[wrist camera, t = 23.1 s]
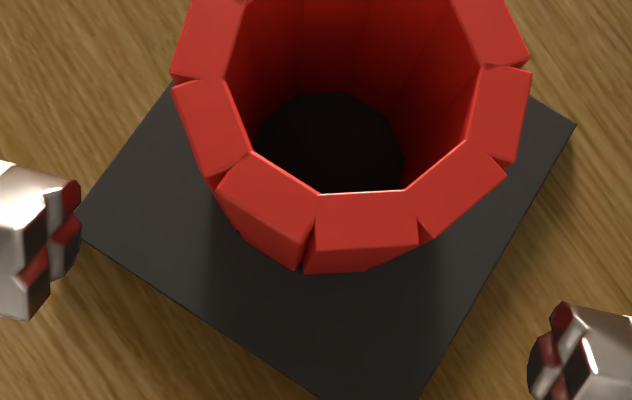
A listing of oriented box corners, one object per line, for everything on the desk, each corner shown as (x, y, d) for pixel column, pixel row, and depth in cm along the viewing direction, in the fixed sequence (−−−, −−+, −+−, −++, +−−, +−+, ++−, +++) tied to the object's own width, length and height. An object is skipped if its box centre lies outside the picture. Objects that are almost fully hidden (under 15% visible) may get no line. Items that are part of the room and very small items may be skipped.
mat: (388, 442, 17) (391, 446, 16) (67, 229, 17) (62, 226, 17) (571, 127, 19) (578, 123, 18) (277, -55, 19) (277, -63, 19)
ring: (365, 318, 17) (421, 325, 10) (171, 194, 17) (96, 117, 10) (476, 136, 18) (593, 29, 11) (291, 22, 18) (296, -150, 12)
